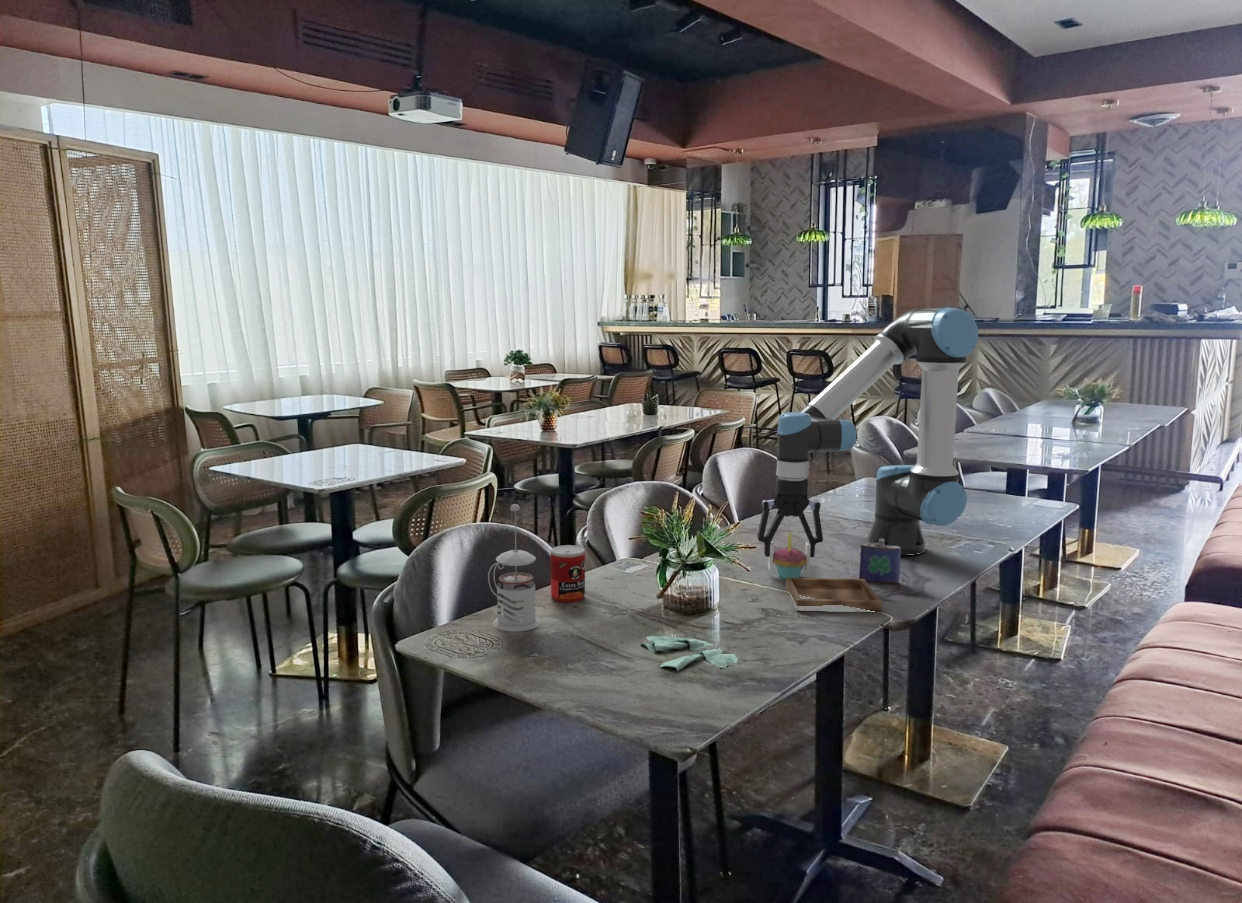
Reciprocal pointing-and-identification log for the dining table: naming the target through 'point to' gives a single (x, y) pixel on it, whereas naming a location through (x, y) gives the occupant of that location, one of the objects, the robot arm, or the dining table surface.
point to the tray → (834, 593)
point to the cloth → (682, 643)
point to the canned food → (567, 573)
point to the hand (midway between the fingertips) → (788, 569)
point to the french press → (515, 591)
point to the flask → (880, 563)
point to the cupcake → (789, 561)
